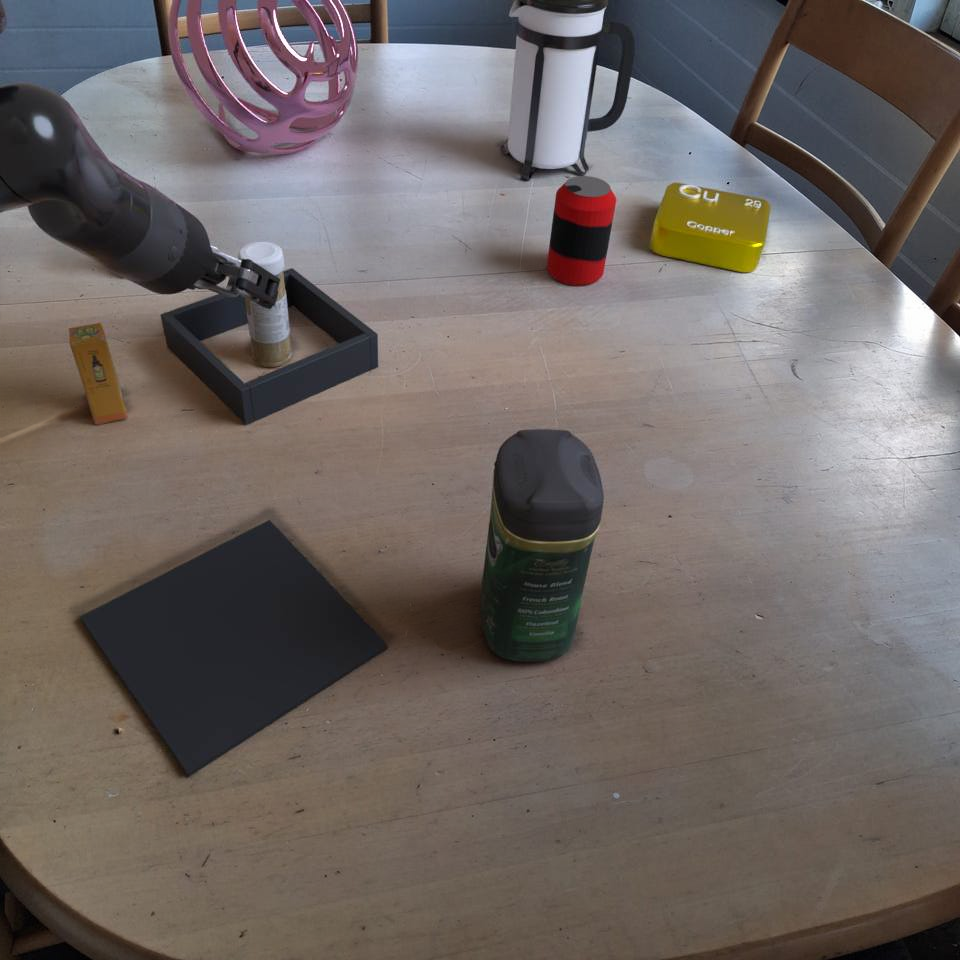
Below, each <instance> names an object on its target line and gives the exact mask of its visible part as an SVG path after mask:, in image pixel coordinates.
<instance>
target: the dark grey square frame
mask: <svg viewBox="0 0 960 960" xmlns="http://www.w3.org/2000/svg"><path fill="white" fill-rule="evenodd" d="M283 274H284V283H285V291H286V298H287V308H288V309H289V308H292V307H293V308H294V309H295V310H296V311H298V312H299V313H300V314H302V315H303V316H304V317H305V318H306V319H308V320H309V321H310V322H311V323H313V324H314V325H315V326H316V327H318V328H319V330H321V331H323V332H324V333H325V334H327V335H328V336H329V338H331V339H332V340H334V341H335V342H336V343H337V344H335V345H332V346H330V347H327V348H326V349H322V350H321V351H319V352H316V353H314V354H311V355H309V356H306V357H303V358H301V359H298V360H296V361H294V362H291V363H289V364H287V365H283V366H281V367H279V368H277V369H274V370H272V371H270V372H268V373H265V374H263V375H261V376H257V377H256V378H253V379H251V380H248V381H246V382H244V381H243V380H242V379H241V378H240V377H238V375H236V374H235V373H234V372H233V371H232V370H231V369H230V368H229V367H228V366H227V365H226V364H225V363H224V362H223V361H222V360H220V359H219V358H218V357H217V356H216V355H215V354H214V353H213V352H212V351H211V350H210V349H209V348H208V347H207V346H205V344H204V343H202V342H203V341H205V340H207V339H210V338H213V337H215V336H217V335H220V334H223V333H225V332H228V331H231V330H234V329H237V328H238V327H241V326H245V325H248V318H247V308H246V298H244V297H241V296H239V295H238V296H237V297H226V296H224V295H221V294H218V293H216V294H214V295H212V296H209V297H206V298H202V299H201V300H197V301H195V302H192V303H188V304H186V305H183V306H180V307H178V308H175V309H171V310H169V311H166V312H163V313H160V320H161V324H162V330H163V335H164V340H165V344H166V349H168V350H169V351H170V353H172V354H173V355H174V356H175V358H177V359H178V360H179V361H180V362H181V363H182V364H183V365H184V366H185V367H186V368H187V369H188V371H190V372H191V373H192V374H193V375H194V376H195V377H196V378H197V379H198V380H199V381H200V382H201V383H202V384H203V385H204V386H205V387H206V388H207V389H208V390H209V391H210V392H211V393H212V394H213V395H214V396H216V398H218V400H220V401H221V402H222V403H223V405H225V406H226V407H227V408H228V409H229V410H230V411H231V412H232V413H233V414H234V415H235V416H236V417H237V419H239V420H240V422H242V423H243V424H244V425H245V426H248V425H250V424H253V423H255V422H256V421H259V420H261V419H263V418H265V417H268V416H270V415H272V414H275V413H277V412H279V411H282V410H283V409H286V408H288V407H290V406H293V405H295V404H298V403H301V402H302V401H304V400H306V399H308V398H311V397H313V396H315V395H318V394H320V393H322V392H325V391H327V390H329V389H331V388H333V387H335V386H338V385H340V384H343V383H344V382H347V381H349V380H352V379H354V378H356V377H358V376H360V375H363V374H365V373H368V372H369V371H372V370H374V369H377V368H379V342H378V341H379V336H378V333H377V332H376V331H375V330H373V329H372V328H370V327H369V326H368V324H365V323H364V322H362V321H361V320H360V319H359V318H358V317H357V316H355V315H354V314H353V313H351V312H350V311H349V310H348V309H346V308H345V307H343V306H342V305H341V304H340V303H338V302H337V301H336V300H334V299H333V298H332V297H330V296H329V295H328V294H326V292H324V291H323V290H322V289H320V288H319V287H317V286H316V285H315V284H314V283H312V282H311V281H310V280H308V278H306V277H305V276H303V274H301V273H300V272H298V271H297V270H295V269H294V268H293V267H292V268H288V269H286V270H283Z"/></svg>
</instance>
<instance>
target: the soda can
mask: <svg viewBox="0 0 960 960" xmlns="http://www.w3.org/2000/svg"><path fill="white" fill-rule="evenodd" d="M554 199H555V200H554V207H553V215H552V222H551V230H550V237H549V244H548V245H549V246H548V254H547V261H546V270H547V272H548V273H549V274H550V276H551V277H552V278H553V279H554V280H556V281H558V282H560V283H563V284H565V285H570V286H578V287H579V286H589V285H592V284H595V283H596V282H598V281H599V280H600V279H601V278H602V277H603V276H604V272H605V267H606V262H607V255H608V250H609V245H610V240H611V239H610V238H611V232H612V227H613V221H614V216H615V212H616V211H615V210H616V204H617V197H616V195H615V193H614V192H613V190H612V188H611V185H610V184H609V183H608V182H607V181H605V180H603V179H601V178H599V177H594V176H589V175H584V176H579V175H578V176H577V175H576V176H573V177H570V178H568V179H567V180H566V181H565V182H564V183H563V184H562V185H561V186H560V187H558V189H557V190H556V193H555V198H554Z"/></svg>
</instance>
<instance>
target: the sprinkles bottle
mask: <svg viewBox="0 0 960 960" xmlns="http://www.w3.org/2000/svg"><path fill="white" fill-rule="evenodd" d="M237 253H238V255H237V257H238V258H237V259H239V260H241V261H242V259H250V260H252V262H254V263H256V264H258V265H259V266H261V267H262V268H264V269H265V270H267V271H268V272H270V273H272V274H273V275H275V276H277V277H278V278H279V279H281V280H280V284H279V287H278V292H279V293H278V296H277V300H276V303H275V306H273V307H272V308H271V309H267V308H263V307H262V306H260V305H258V304H257V303H255V302H251V301H250V300H249V299H246V308H247V318H248V323H247V325H248V333H249V336H250V344H251V359H252V360H253V361H254V362H255V363H256V364H257V365H259V366H261V367H263V368H264V367H266V368H278V367H283V366H285V365H286V364H288V362H290V361H291V359H292V358H293V350H292V348H291V337H290V331H291V330H290V319H289V318H290V317H289V310H288V309H289V308H287V298H286V291H285V283H284V274H283V271H285V270H284V269H285V258H284V252H283V249H282V248H281V247H280V246H279V245H278V244H275V243H273V242H270V241H255V242H250V243H247V244H245V245H243V246H242V247H241V248H240V249H239V251H238V252H237Z"/></svg>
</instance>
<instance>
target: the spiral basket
mask: <svg viewBox="0 0 960 960" xmlns="http://www.w3.org/2000/svg"><path fill="white" fill-rule="evenodd" d="M278 1H279V0H257V4H256V7H257V18H258V23H259V26H260V30H261V32H262V35H263V37H264V40H265V42H266V43H267V44H266V45H268V47H269V49H270V50H271V52H272V54H273V55H274V56H275V57H276V59H277V60H278V61H279V62H280V63H281V64H282V65H283V67H285V68H286V69H288V71H290V72H291V73H293V74H294V76H295V79H296V80H295V84H294V86H293V88H292V89H291V90H290V91H284V90H283V89H281V88H279V86H278V85H276V84H275V83H273V82H272V81H271V80H270V79H269V78H268V77H267V76H266V74H264V72H263V71H262V70H261V69H260V68H259V66H258V65H257V63H256V61H255V60H254V59H253V58H252V56H251V54H250V52H249V50H248V48H247V45H246V43H245V41H244V39H243V36H242V32H241V29H240V25H239V21H238V14H237V0H217V16H218V23H219V28H220V34H221V36H222V39H223V43H224V45H225V48H226V50H227V53H228V56H229V57H230V59H231V62H232V63H233V64H234V67H235V68H236V70H237V71H238V72H239V74H240V76H241V77H242V78H243V79H244V81H245V82H246V83H247V84H248V86H249V87H250V88H251V89H252V90H253V91H254V92H255V93H256V94H257V95H258V96H260V98H262V99H263V100H264V101H266V102H267V103H268V104H270V105H271V106H272V107H273V108H275V109H276V110H277V112H276V111H271V110H268V109H265V108H263V107H260V106H257V105H255V104H253V103H251V102H249V101H246V100H244V99H242V98H240V97H236V95H235V94H234V93H233V92H232V91H231V89H230V88H229V87H228V85H227V84H226V83H225V81H224V80H223V78H222V76H221V75H220V73H219V71H218V70H217V67H216V66H215V64H214V62H213V58H212V57H211V54H210V52H209V50H208V49H209V48H208V46H207V43H206V40H205V36H204V35H205V34H204V31H203V25H202V24H203V23H202V0H187V2H186V14H185V16H186V18H185V19H186V30H187V35H188V41H189V44H190V48H191V52H192V56H193V57H194V61H195V63H196V65H197V68H198V70H199V72H200V74H201V75H202V78H203V80H204V81H205V83H206V84H207V86H208V88H209V89H210V91H211V92H212V93H213V95H214V96H215V98H216V99H217V100H218V101H219V103H218V107H217V108H218V110H217V111H218V112H217V113H218V115H217V114H216V113H215V112H214V111H213V109H212V108H211V107H210V106H209V104H207V102H206V101H205V100H204V98H203V96H201V94H200V92H199V91H198V89H197V87H196V86H195V83H194V82H193V79H192V78H191V76H190V74H189V72H188V69H187V67H186V64H185V61H184V58H183V55H182V50H181V46H180V40H179V29H178V27H179V26H178V23H179V21H178V20H179V19H178V18H179V12H180V7H181V2H182V0H172V2H171V5H170V10H169V14H168V26H167V32H168V44H169V45H168V46H169V50H170V55H171V59H172V63H173V66H174V69H175V71H176V74H177V77H178V79H179V81H180V83H181V85H182V87H183V89H184V91H185V93H186V95H187V96H188V98H189V99H190V101H191V102H192V104H193V105H194V107H195V108H196V109H197V111H198V112H199V113H200V114H201V115H202V116H203V117H204V119H205V120H206V121H207V122H208V123H209V124H210V125H211V126H212V127H213V128H215V129H216V130H217V131H218V132H219V133H220V134H222V135H223V137H224V139H225V140H226V142H227V143H228V144H229V145H230V147H233V148H234V149H236V150H239V151H241V152H245V153H251V154H253V153H254V154H263V155H288V154H293V153H296V152H300V151H302V150H305V149H307V148H308V147H310V146H312V145H313V144H315V143H316V142H317V141H318V140H320V139H321V138H322V137H323V136H325V135H327V134H328V133H329V132H330V131H332V130H333V129H334V128H335V127H336V126H337V125H338V124H339V122H340V121H341V120H342V118H343V117H344V116H345V113H346V112H347V110H348V108H349V106H350V104H351V102H352V100H353V99H352V98H353V97H354V96H353V95H354V91H355V87H356V83H357V77H358V71H359V47H358V39H357V35H356V32H355V28H354V25H353V23H352V20H351V17H350V15H349V12H348V10H347V8H346V6H345V4H344V3H343V1H342V0H319V1H320V3H321V4H322V6H323V7H324V8H325V11H326V12H327V13H328V15H329V17H330V19H331V21H332V22H333V24H334V25H333V26H334V27H335V29H336V32H337V34H338V37H339V39H340V43H339V42H338V41H337V40H336V39H335V38H334V37H333V36H332V35H329V32H328V31H327V28H326V26H325V25H324V22H323V21H322V19H321V17H320V15H319V14H318V13H317V11H316V10H315V8H314V7H313V5H312V3H310V1H309V0H289V1H290V2H291V3H292V4H293V5H294V7H296V9H297V11H299V12H300V14H301V15H302V17H303V18H304V19H305V21H306V22H307V24H308V25H309V27H310V29H311V30H312V33H313V34H314V36H315V38H316V40H317V43H318V45H319V47H320V50H321V54H322V56H323V59H324V60H323V61H320V62H319V61H316V60H315V42H314V40H311V41H310V42H309V44H308V48H307V51H306V53H305V55H301V54H300V53H299V52H298V51H297V50H296V49H294V48H293V46H292V45H291V44H290V42H289V41H288V40H287V38H286V36H285V34H284V33H283V31H282V28H281V25H280V22H279V18H278ZM342 73H343V75H344V84H343V87H342V89H341V77H340V75H341V74H342ZM313 82H314V83H322V82H323V83H324V82H328V95H327V99H324V100H318V101H317V100H316V101H311V100H307V99H306V97H305V96H306V90H307V88H308V86H309V85H310V83H313ZM224 108H225V109H226V110H227V111H228V113H230V114H231V115H232V116H233V117H234V118H235V119H236V120H237V121H239V122H240V123H241V124H242V125H244V126H245V127H247V128H249V130H252V131H253V132H254V133H256V134H257V136H258V137H256V138H250V137H247V136H244V135H243V134H240V133H239V132H237V131H236V130H234V129H233V128H232V127H230V126H229V123H228V121H227V118H226V117H227V116H226V114H225V109H224ZM259 116H260V117H259ZM261 117H262V118H261ZM263 118H265V119H266V120H265V119H263ZM290 126H291V127H290ZM294 127H295V129H301V130H303V131H301V130H300V131H299V130H292V129H291V128H294ZM304 129H305V130H304ZM282 143H283V144H284V143H287V144H294V145H292V146H284V147H283V146H281V147H279V146H278V147H277V146H274V145H277V144H282Z"/></svg>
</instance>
